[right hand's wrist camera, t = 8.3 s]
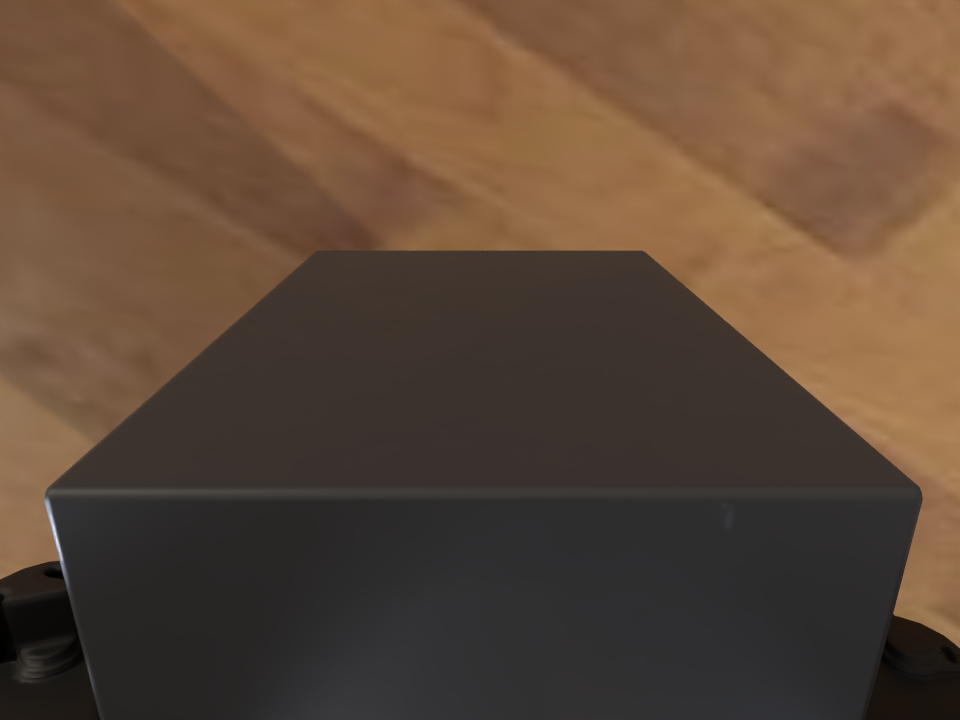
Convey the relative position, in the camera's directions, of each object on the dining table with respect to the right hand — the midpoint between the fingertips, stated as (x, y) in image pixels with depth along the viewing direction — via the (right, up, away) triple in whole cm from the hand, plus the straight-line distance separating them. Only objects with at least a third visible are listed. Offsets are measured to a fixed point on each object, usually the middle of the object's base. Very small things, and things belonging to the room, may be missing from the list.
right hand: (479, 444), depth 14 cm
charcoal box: (0, -11, +5) cm, 12 cm away
